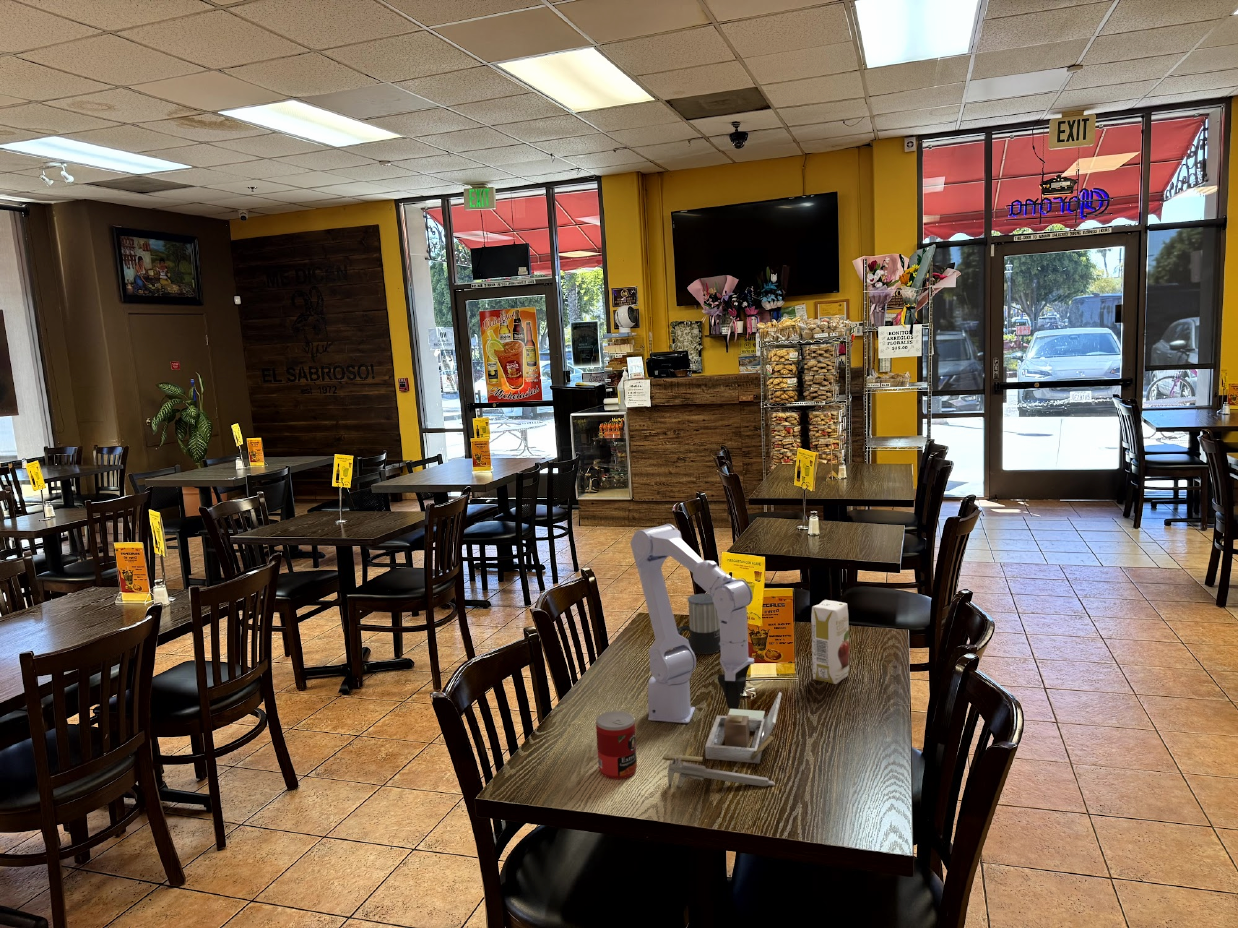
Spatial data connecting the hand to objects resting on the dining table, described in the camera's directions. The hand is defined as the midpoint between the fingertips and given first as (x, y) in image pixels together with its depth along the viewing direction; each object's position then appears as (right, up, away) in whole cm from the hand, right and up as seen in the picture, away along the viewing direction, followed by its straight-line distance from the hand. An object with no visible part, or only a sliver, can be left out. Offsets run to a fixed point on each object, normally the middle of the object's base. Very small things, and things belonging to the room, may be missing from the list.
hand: (736, 700), depth 175 cm
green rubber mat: (+4, -8, +13) cm, 16 cm away
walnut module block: (+1, -10, +1) cm, 10 cm away
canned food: (-25, -12, -7) cm, 29 cm away
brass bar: (-11, -11, -4) cm, 17 cm away
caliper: (-5, -13, -15) cm, 20 cm away
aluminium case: (+1, -10, +1) cm, 10 cm away
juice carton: (+29, -4, +34) cm, 45 cm away
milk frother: (-3, -2, +62) cm, 62 cm away
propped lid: (+6, -9, -1) cm, 11 cm away
